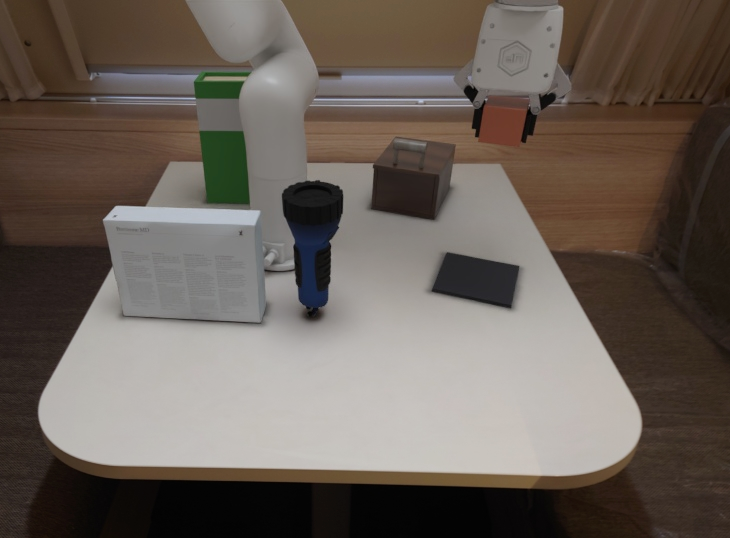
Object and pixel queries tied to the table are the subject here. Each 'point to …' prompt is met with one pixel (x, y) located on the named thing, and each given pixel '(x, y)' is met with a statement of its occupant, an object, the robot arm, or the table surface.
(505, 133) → the small box
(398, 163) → the lid
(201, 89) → the hardback book
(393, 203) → the chest
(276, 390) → the table surface
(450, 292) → the mat
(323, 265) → the flashlight
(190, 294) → the skincare box
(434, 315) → the table surface
